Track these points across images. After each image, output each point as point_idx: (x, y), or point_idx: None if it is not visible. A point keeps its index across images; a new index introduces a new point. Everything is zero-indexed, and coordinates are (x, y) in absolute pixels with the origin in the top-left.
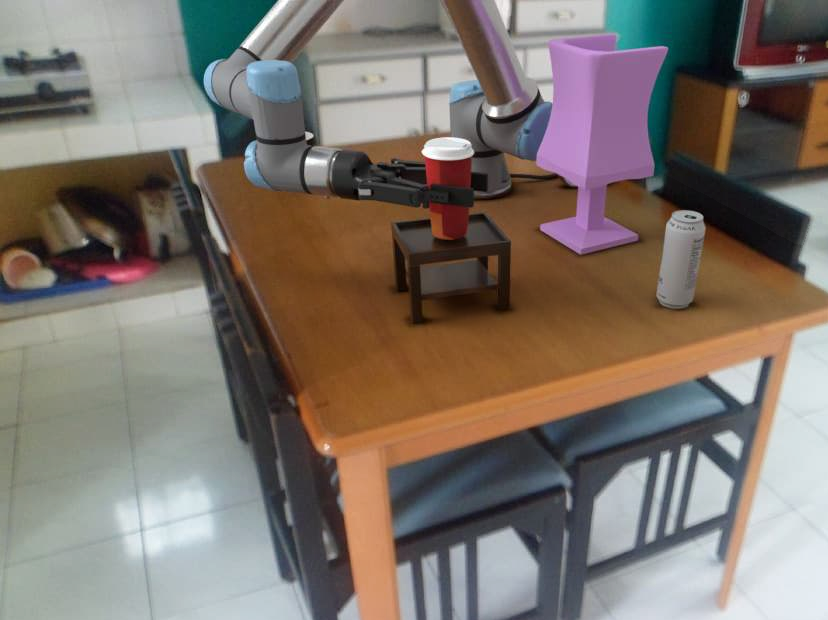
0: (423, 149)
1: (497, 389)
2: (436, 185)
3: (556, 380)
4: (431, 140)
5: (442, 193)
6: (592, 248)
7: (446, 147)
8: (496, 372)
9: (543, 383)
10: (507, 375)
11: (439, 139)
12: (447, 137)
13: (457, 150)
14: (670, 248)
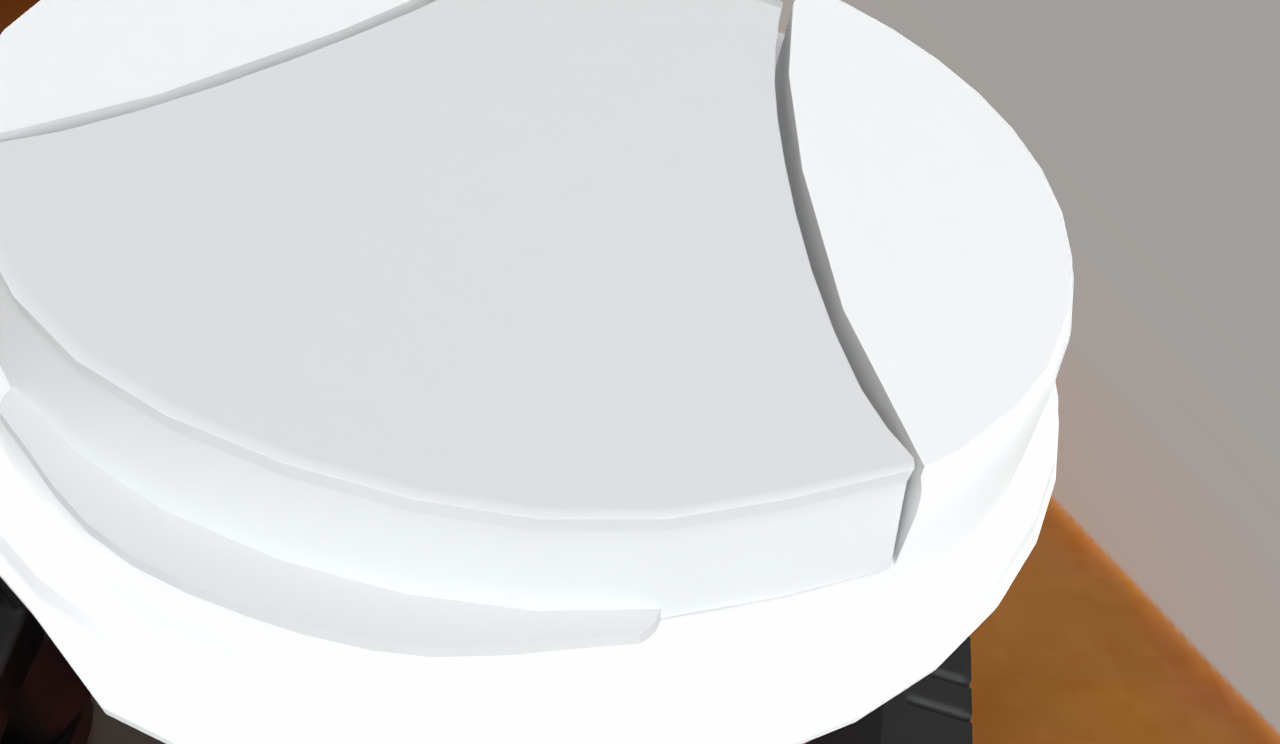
0: (407, 740)
1: (1233, 739)
2: (875, 716)
3: (1083, 541)
4: (218, 362)
5: (966, 662)
6: None
7: (851, 151)
8: (1126, 740)
9: (1119, 581)
10: (1127, 698)
11: (158, 192)
12: (3, 58)
13: (927, 67)
14: None
